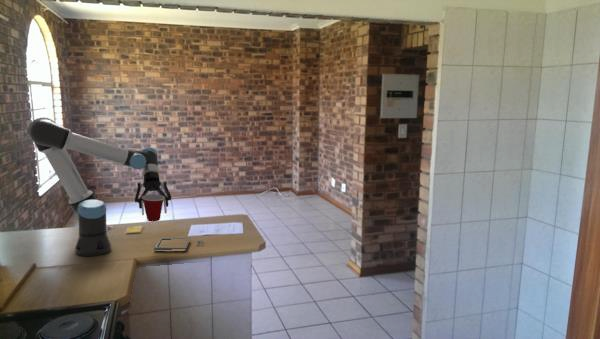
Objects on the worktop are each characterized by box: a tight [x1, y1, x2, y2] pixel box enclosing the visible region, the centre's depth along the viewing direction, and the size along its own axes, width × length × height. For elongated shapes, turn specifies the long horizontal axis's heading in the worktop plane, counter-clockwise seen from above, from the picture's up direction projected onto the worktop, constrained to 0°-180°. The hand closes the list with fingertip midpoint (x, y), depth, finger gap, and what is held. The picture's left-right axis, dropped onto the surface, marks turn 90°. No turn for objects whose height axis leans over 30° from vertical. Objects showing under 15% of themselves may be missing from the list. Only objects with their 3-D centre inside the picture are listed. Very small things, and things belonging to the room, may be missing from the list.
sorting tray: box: [153, 237, 190, 251], centre depth 208 cm, size 15×15×2 cm
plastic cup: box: [142, 193, 165, 223], centre depth 205 cm, size 11×11×12 cm
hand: (154, 212), depth 203 cm, fingers closed on plastic cup, 10 cm apart
